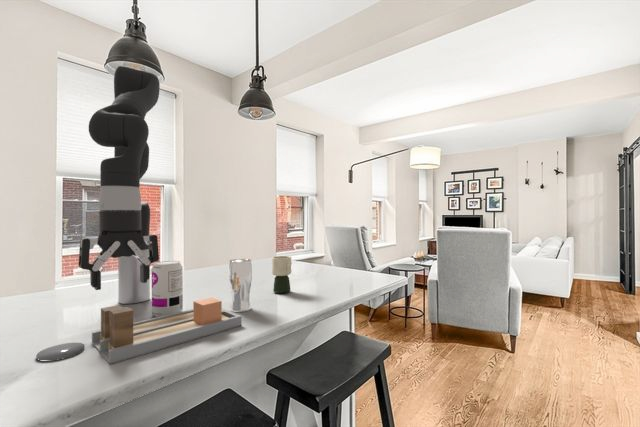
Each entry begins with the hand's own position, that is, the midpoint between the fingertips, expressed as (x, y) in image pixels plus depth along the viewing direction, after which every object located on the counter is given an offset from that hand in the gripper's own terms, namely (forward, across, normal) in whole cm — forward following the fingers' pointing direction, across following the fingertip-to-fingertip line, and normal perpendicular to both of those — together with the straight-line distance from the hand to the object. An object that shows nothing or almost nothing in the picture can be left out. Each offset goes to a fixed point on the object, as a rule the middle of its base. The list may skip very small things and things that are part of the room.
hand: (121, 285), depth 68 cm
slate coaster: (+14, +9, -10) cm, 19 cm away
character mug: (+14, -56, -16) cm, 60 cm away
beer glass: (+14, -34, -9) cm, 38 cm away
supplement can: (+14, -17, -21) cm, 31 cm away
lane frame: (+14, -11, -4) cm, 18 cm away
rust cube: (+12, -19, 0) cm, 23 cm away
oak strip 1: (+14, -11, -7) cm, 20 cm away
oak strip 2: (+14, -11, 0) cm, 18 cm away
